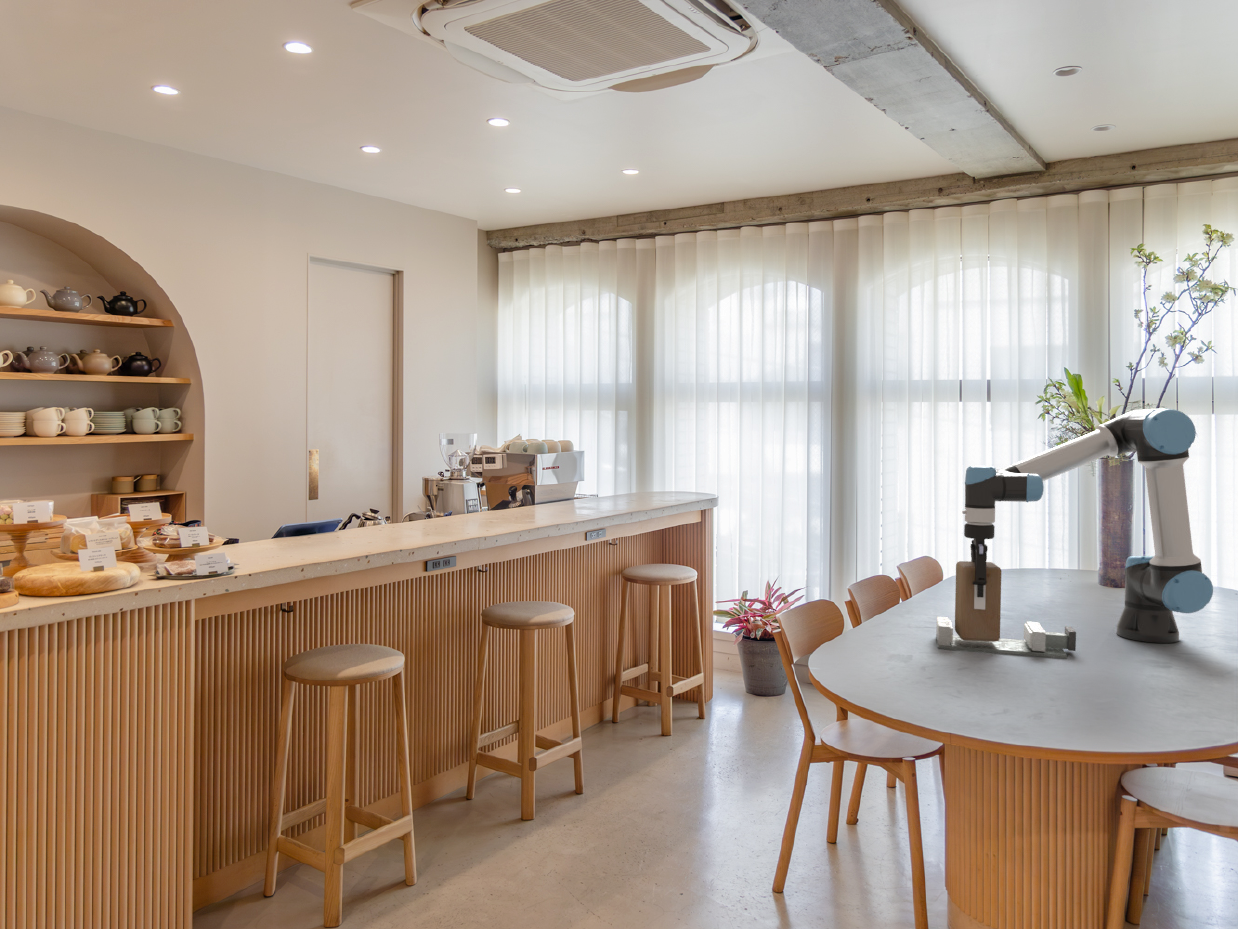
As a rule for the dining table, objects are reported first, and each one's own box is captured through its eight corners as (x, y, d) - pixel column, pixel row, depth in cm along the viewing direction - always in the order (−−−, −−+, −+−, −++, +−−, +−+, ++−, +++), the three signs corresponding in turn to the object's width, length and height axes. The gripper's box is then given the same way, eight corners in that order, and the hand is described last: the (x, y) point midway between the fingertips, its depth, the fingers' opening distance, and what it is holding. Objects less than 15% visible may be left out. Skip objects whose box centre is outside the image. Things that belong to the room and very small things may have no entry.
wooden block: (1000, 642, 230) (1002, 567, 229) (960, 640, 232) (962, 566, 231) (992, 633, 239) (994, 561, 238) (954, 632, 241) (955, 560, 240)
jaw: (1068, 642, 234) (1069, 624, 234) (1077, 654, 223) (1078, 634, 222) (1023, 639, 237) (1024, 621, 237) (1029, 650, 226) (1030, 631, 226)
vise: (1057, 646, 235) (1058, 624, 235) (1066, 658, 223) (1067, 635, 223) (936, 637, 245) (936, 616, 244) (938, 648, 232) (938, 626, 232)
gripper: (961, 518, 246) (959, 595, 247) (967, 527, 224) (965, 612, 225) (990, 519, 244) (988, 597, 245) (999, 528, 222) (997, 614, 223)
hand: (977, 604), depth 235 cm, fingers closed on wooden block, 10 cm apart
